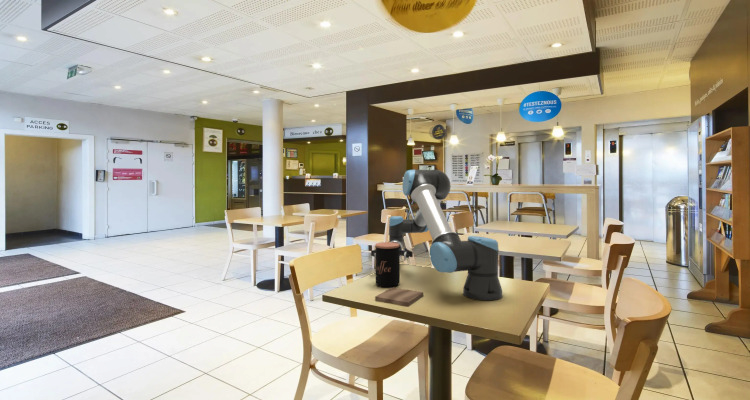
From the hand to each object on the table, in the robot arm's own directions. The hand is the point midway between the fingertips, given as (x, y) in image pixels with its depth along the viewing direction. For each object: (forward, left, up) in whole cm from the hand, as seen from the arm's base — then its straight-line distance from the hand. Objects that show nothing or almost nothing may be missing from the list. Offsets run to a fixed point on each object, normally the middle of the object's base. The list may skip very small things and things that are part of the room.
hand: (389, 257), depth 177 cm
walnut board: (-17, +23, -10) cm, 30 cm away
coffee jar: (-4, +9, -10) cm, 14 cm away
